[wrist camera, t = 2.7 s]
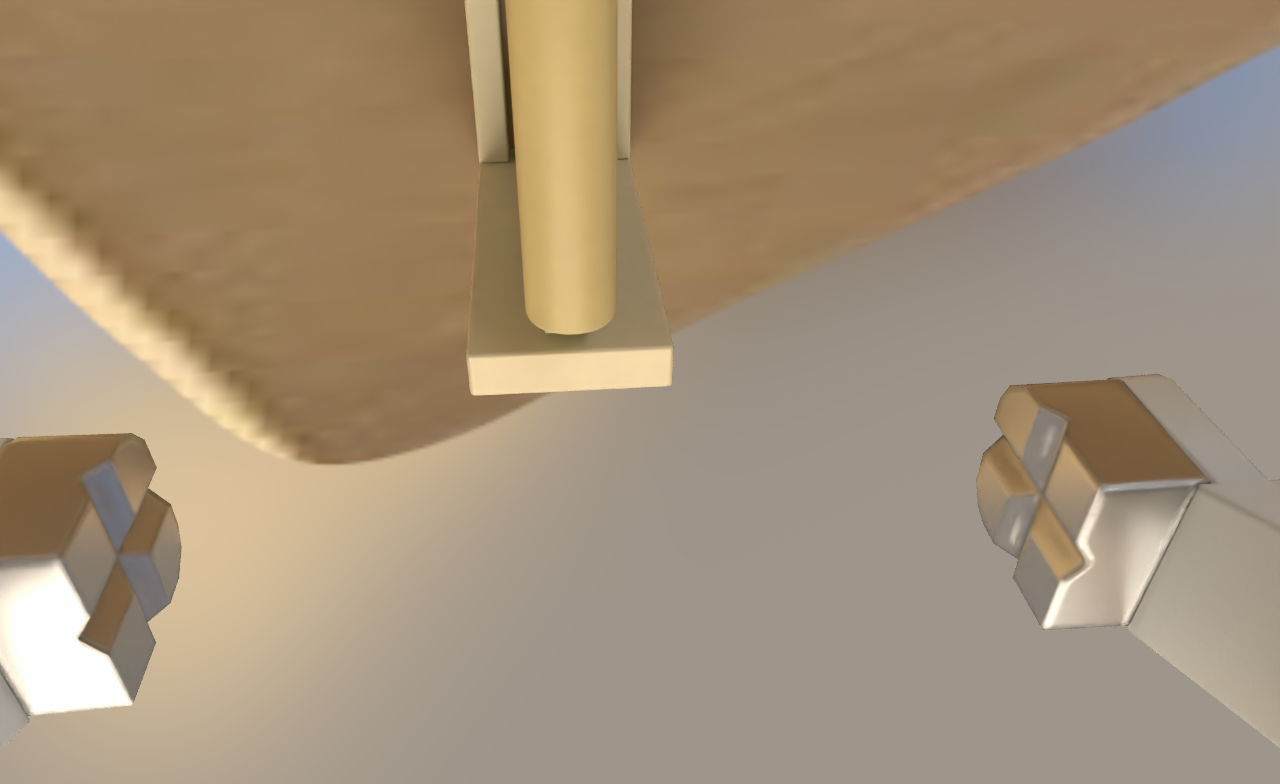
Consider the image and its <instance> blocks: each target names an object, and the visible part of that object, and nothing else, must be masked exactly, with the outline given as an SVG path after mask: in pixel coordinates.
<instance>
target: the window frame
mask: <svg viewBox="0 0 1280 784" xmlns="http://www.w3.org/2000/svg"><path fill="white" fill-rule="evenodd" d="M464 1H465V12H466V23H467V34H468V45H469V56H470V67H471V78H472V89H473V101H474V112H475V123H476V134H477V145H478V156H479V161H480V165H479V179H478V194H477V209H476V223H475V238H474V252H473V267H472V282H471V296H470V311H469V325H468V340H467V355H466V359H467V367H468V376H469V385H470V392H471V393H472V395H495V394H516V393H536V392H556V391H576V390H595V389H615V388H637V387H656V386H669V385H671V383H672V375H673V354H674V346H673V342H672V338H671V333H670V329H669V325H668V321H667V316H666V312H665V308H664V304H663V300H662V295H661V291H660V287H659V283H658V278H657V274H656V270H655V266H654V261H653V257H652V253H651V249H650V244H649V240H648V236H647V232H646V227H645V223H644V219H643V215H642V210H641V206H640V202H639V198H638V193H637V189H636V185H635V181H634V177H633V172H632V168H631V164H630V160H629V158H630V127H631V43H632V0H618V68H617V309H616V313H615V315H614V317H613V318H612V320H611V321H610V322H609V323H608V324H606V325H605V326H603V327H602V328H600V329H597V330H596V331H592V332H588V333H583V334H574V335H566V334H557V333H545V331H544V330H543V329H541V328H539V327H537V326H536V325H534V324H533V323H532V322H531V321H530V319H529V318H528V316H527V314H526V310H525V296H524V280H523V265H522V250H521V234H520V219H519V204H518V189H517V173H516V158H515V143H514V127H513V112H512V97H511V81H510V66H509V51H508V36H507V20H506V5H505V0H464Z"/></svg>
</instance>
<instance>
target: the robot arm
mask: <svg viewBox="0 0 1280 784" xmlns="http://www.w3.org/2000/svg"><path fill="white" fill-rule="evenodd" d="M994 420H995V422H996V423H997V425H998V427H999V428H1000V430H1001V432H1002V433H1003V436H1002V437H1000V438H999V439H998V440H997V441H996V442H995V443H994V444H993V445H992V446H991V447H990V448H988V449H987V450H986V451H985V452H984V453H983V456H982V460H981V464H980V468H979V472H978V475H977V499H978V508H979V511H980V514H981V517H982V521H983V524H984V526H985V528H986V530H987V532H988V534H989V536H990V537H991V539H992V541H993V543H994V544H995V545H997V546H998V547H1000V548H1001V549H1003V550H1005V551H1006V552H1008V553H1009V554H1011V555H1012V556H1014V557H1015V558H1017V559H1018V562H1017V565H1016V568H1015V572H1014V575H1013V579H1014V580H1015V582H1016V584H1017V586H1018V587H1019V589H1020V591H1021V593H1022V594H1023V596H1024V598H1025V600H1026V601H1027V603H1028V605H1029V606H1030V608H1031V610H1032V612H1033V614H1034V615H1035V617H1036V619H1037V621H1038V622H1039V624H1040V626H1041V627H1042V629H1043V630H1057V629H1074V628H1093V627H1112V626H1129V627H1128V631H1130V632H1131V633H1132V634H1134V635H1135V636H1136V637H1137V638H1139V639H1140V640H1141V641H1143V642H1144V643H1145V644H1147V645H1148V646H1149V647H1150V648H1152V649H1153V650H1154V651H1155V652H1157V653H1158V654H1159V655H1161V656H1162V657H1163V658H1165V659H1166V660H1167V661H1168V662H1170V663H1171V664H1172V665H1174V666H1175V667H1176V668H1177V669H1179V670H1180V671H1181V672H1183V673H1184V674H1185V675H1186V676H1188V677H1189V678H1190V679H1192V680H1193V681H1194V682H1196V683H1197V684H1198V685H1199V686H1201V687H1202V688H1203V689H1205V690H1206V691H1207V692H1208V693H1210V694H1211V695H1212V696H1214V697H1215V698H1216V699H1218V700H1219V701H1220V702H1221V703H1223V704H1224V705H1225V706H1227V707H1228V708H1230V710H1232V711H1233V712H1234V713H1236V714H1237V715H1238V716H1239V717H1241V718H1242V719H1244V720H1245V721H1246V722H1247V723H1248V724H1250V725H1251V726H1252V727H1254V728H1255V729H1256V730H1258V731H1259V732H1260V733H1261V734H1263V735H1264V736H1265V737H1267V738H1268V739H1269V740H1271V741H1272V742H1273V743H1274V744H1276V745H1277V746H1278V747H1280V480H1268V479H1267V478H1266V477H1265V476H1264V475H1263V474H1262V473H1261V471H1260V470H1259V469H1258V468H1257V467H1256V466H1255V465H1254V464H1253V463H1252V462H1251V461H1250V460H1249V459H1248V458H1247V457H1246V456H1245V455H1244V454H1243V453H1242V452H1241V451H1240V450H1239V448H1238V447H1237V446H1236V445H1235V444H1234V443H1233V442H1232V441H1231V440H1230V439H1229V438H1228V437H1227V436H1226V435H1225V434H1224V433H1223V432H1222V431H1221V430H1220V429H1219V428H1218V427H1217V426H1216V425H1215V423H1214V422H1213V421H1212V420H1210V418H1209V417H1208V416H1207V415H1206V414H1205V413H1204V412H1203V411H1202V410H1201V409H1200V408H1199V407H1198V406H1197V405H1196V404H1195V403H1194V402H1193V401H1192V400H1191V398H1190V397H1189V396H1188V395H1187V394H1186V393H1185V392H1184V391H1183V390H1182V389H1181V388H1180V387H1179V386H1178V385H1177V384H1176V383H1175V382H1174V381H1173V380H1171V379H1169V378H1166V377H1164V376H1162V375H1159V374H1151V375H1140V376H1127V377H1115V378H1108V379H1107V380H1094V381H1077V382H1061V383H1044V384H1027V385H1011V386H1009V388H1008V389H1007V390H1006V392H1005V393H1004V394H1003V395H1002V397H1001V398H1000V401H999V404H998V407H997V410H996V413H995V416H994ZM156 468H157V467H156V465H155V463H154V460H153V458H152V456H151V454H150V451H149V449H148V447H147V445H146V442H145V440H144V439H142V438H140V437H138V436H136V435H134V434H132V433H128V434H100V435H70V436H44V437H43V436H41V437H18V438H16V439H11V438H0V750H1V749H2V748H3V747H4V746H5V745H6V744H7V743H8V742H9V741H10V740H11V739H12V738H13V737H14V736H15V735H16V734H17V733H18V732H19V731H20V730H21V729H22V728H23V727H24V726H25V725H26V724H27V723H29V718H28V716H34V715H43V714H52V713H60V712H70V711H80V710H88V709H99V708H108V707H117V706H126V705H133V703H134V700H135V697H136V695H137V692H138V689H139V687H140V684H141V681H142V679H143V676H144V673H145V671H146V668H147V665H148V662H149V660H150V657H151V655H152V652H153V649H154V646H155V644H156V641H155V639H154V637H153V635H152V632H151V630H150V628H149V625H148V623H147V622H148V621H150V620H151V619H152V618H153V617H154V616H155V615H156V614H158V613H159V612H160V611H161V610H163V609H164V608H165V607H166V606H167V605H168V604H170V602H171V600H172V597H173V594H174V591H175V588H176V585H177V582H178V579H179V571H180V559H181V542H180V535H179V528H178V523H177V520H176V518H175V515H174V512H173V509H172V507H171V504H170V503H168V502H167V501H165V500H164V499H163V498H161V497H160V496H158V495H157V494H156V493H154V492H153V491H151V490H150V489H148V487H149V484H150V482H151V480H152V477H153V475H154V473H155V470H156Z"/></svg>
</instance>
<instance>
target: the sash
mask: <svg viewBox="0 0 1280 784" xmlns="http://www.w3.org/2000/svg"><path fill="white" fill-rule="evenodd" d="M505 5H506V20H507V36H508V51H509V66H510V81H511V97H512V112H513V127H514V143H515V158H516V173H517V189H518V204H519V219H520V234H521V250H522V265H523V280H524V296H525V310H526V314H527V316H528V318H529V319H530V321H531V322H532V323H533V324H534V325H536V326H537V327H539V328H541V329H543V330H544V331H545V333H557V334H566V335H574V334H583V333H588V332H592V331H596V330H597V329H600V328H602V327H603V326H605V325H606V324H608V323H609V322H610V321H611V320H612V318H613V317H614V315H615V313H616V309H617V68H618V0H505Z"/></svg>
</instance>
